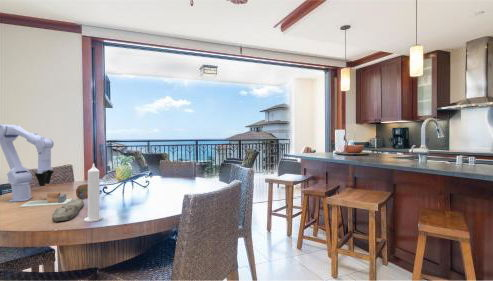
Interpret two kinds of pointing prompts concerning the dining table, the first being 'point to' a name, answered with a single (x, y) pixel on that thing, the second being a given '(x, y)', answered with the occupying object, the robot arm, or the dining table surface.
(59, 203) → the board
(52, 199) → the block
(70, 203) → the long grey stone
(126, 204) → the dining table surface
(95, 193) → the candle
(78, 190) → the tin
